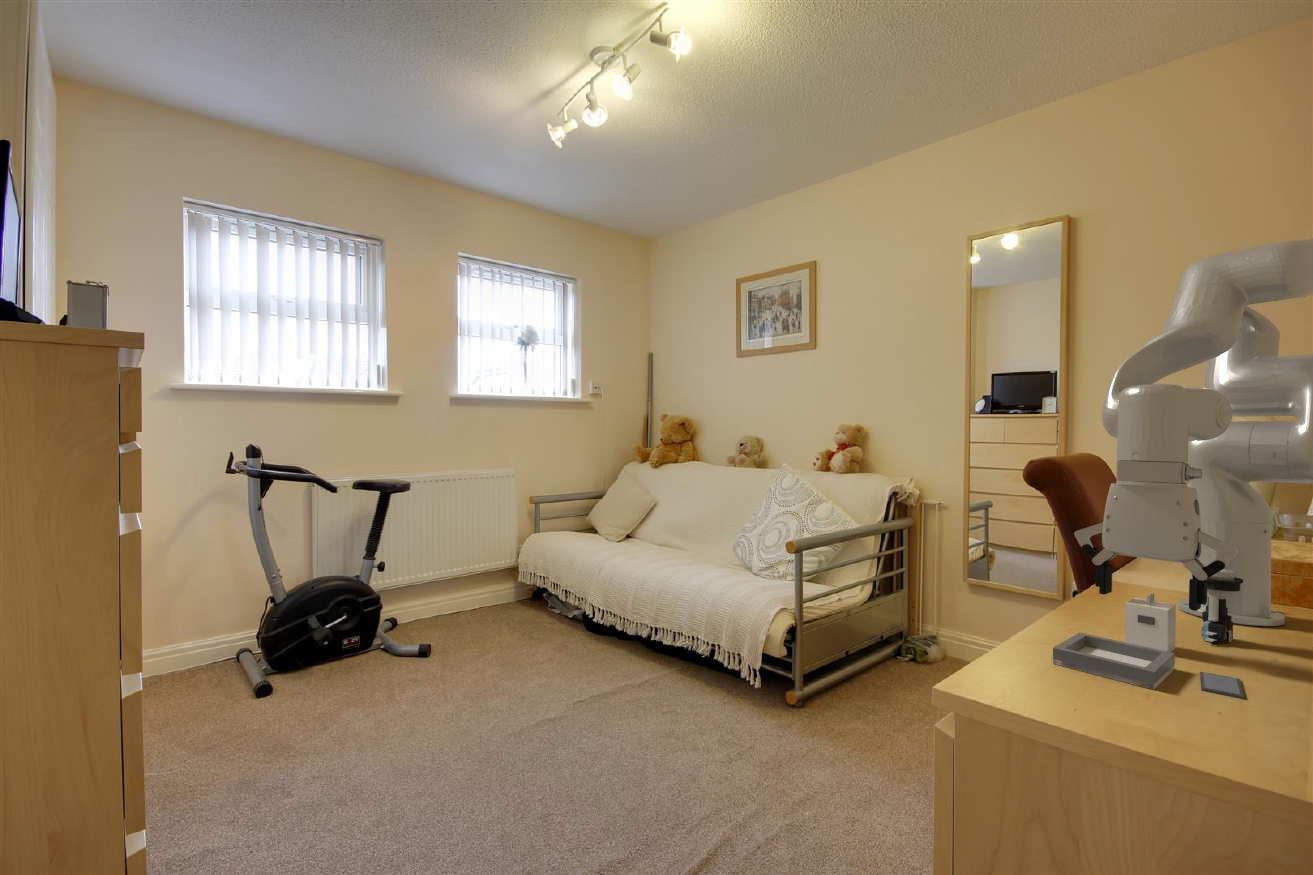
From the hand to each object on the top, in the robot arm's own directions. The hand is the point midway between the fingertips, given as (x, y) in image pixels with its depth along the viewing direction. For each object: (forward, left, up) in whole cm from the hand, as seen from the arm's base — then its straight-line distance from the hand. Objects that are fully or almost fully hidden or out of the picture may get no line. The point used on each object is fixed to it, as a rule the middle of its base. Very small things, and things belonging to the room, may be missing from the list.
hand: (1148, 600), depth 82 cm
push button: (-12, +5, -7) cm, 14 cm away
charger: (-1, 0, -7) cm, 7 cm away
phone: (+9, +9, -7) cm, 14 cm away
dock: (+12, -1, -6) cm, 14 cm away
